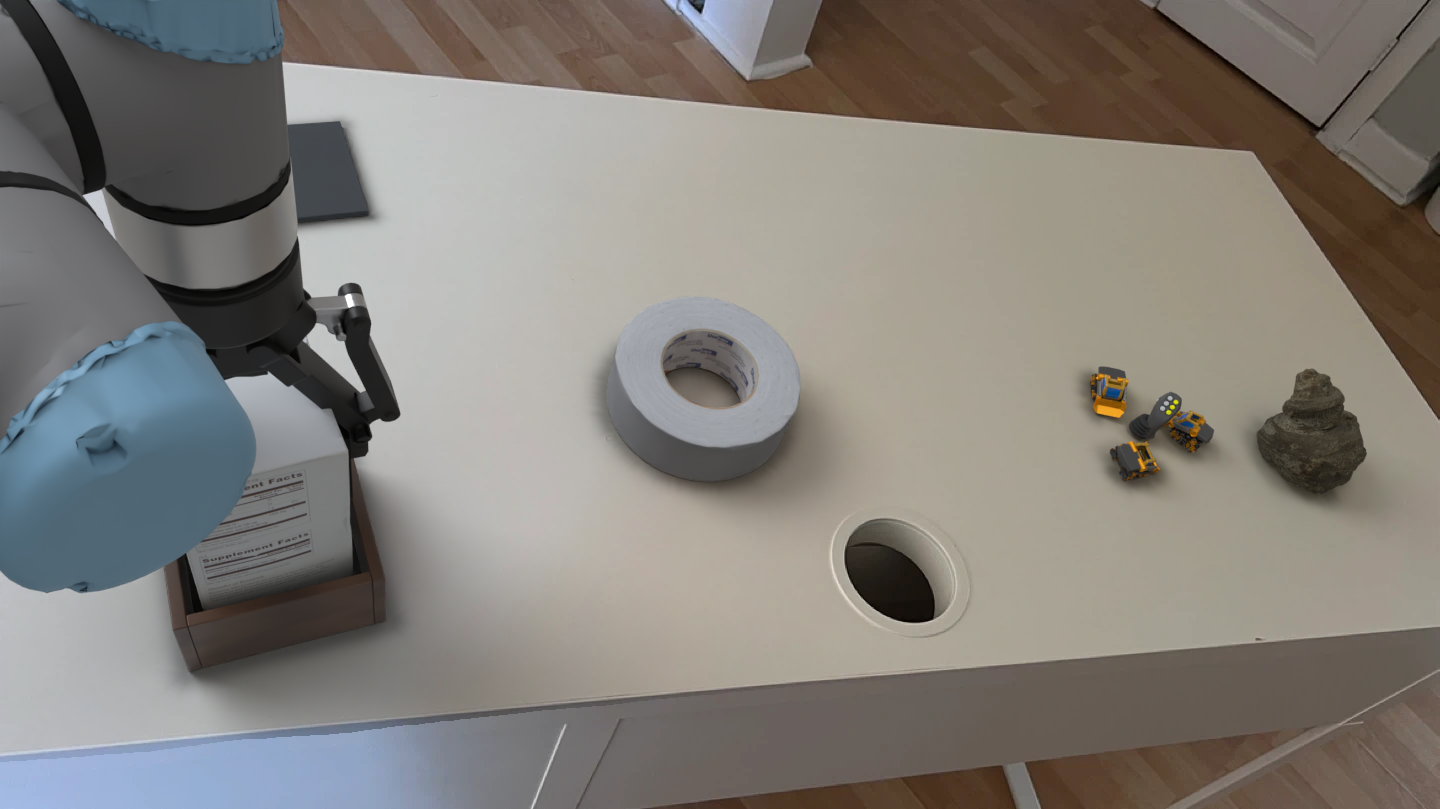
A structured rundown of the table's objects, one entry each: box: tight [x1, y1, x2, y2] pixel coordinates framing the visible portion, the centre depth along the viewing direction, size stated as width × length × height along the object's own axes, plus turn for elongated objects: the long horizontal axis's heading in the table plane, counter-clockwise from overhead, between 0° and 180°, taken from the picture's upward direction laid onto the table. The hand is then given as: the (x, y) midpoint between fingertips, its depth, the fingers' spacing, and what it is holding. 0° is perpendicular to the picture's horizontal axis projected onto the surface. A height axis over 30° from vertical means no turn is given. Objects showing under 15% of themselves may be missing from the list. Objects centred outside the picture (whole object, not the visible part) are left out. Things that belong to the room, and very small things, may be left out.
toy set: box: [1089, 365, 1215, 482], centre depth 96 cm, size 12×11×5 cm
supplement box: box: [185, 335, 355, 611], centre depth 65 cm, size 10×9×17 cm
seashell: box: [1256, 367, 1401, 506], centre depth 98 cm, size 11×12×10 cm
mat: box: [287, 120, 370, 224], centre depth 92 cm, size 18×12×1 cm, turn 113°
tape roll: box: [605, 295, 802, 483], centre depth 87 cm, size 15×15×5 cm
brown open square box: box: [163, 458, 387, 672], centre depth 70 cm, size 12×13×6 cm
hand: (257, 498), depth 66 cm, fingers closed on supplement box, 9 cm apart
